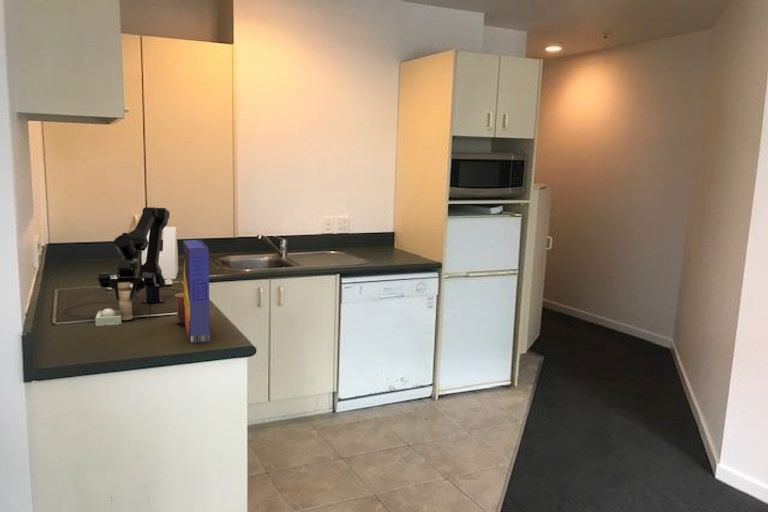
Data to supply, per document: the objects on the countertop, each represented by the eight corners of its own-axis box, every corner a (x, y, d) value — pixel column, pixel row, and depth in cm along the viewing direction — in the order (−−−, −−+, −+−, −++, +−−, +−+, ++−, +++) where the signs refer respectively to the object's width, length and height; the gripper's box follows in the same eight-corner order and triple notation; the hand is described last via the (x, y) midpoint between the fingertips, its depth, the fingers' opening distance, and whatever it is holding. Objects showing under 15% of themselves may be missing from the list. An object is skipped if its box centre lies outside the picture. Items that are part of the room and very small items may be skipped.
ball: (114, 305, 215) (119, 317, 216) (103, 308, 216) (108, 320, 217) (108, 309, 211) (113, 321, 212) (96, 312, 212) (101, 324, 212)
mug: (184, 327, 209) (183, 298, 207) (170, 323, 214) (169, 294, 213) (214, 321, 218) (214, 293, 216) (200, 317, 223) (199, 290, 222)
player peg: (119, 318, 217) (116, 282, 215) (131, 316, 219) (129, 281, 217) (121, 320, 213) (118, 284, 211) (133, 319, 215) (131, 282, 213)
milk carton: (146, 273, 316) (145, 225, 313) (178, 272, 320) (177, 225, 317) (142, 279, 298) (140, 228, 295) (175, 279, 302) (174, 228, 299)
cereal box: (184, 326, 210) (183, 240, 206) (202, 325, 212) (201, 239, 208) (189, 343, 190) (188, 247, 186) (209, 341, 192) (208, 247, 188)
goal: (98, 318, 218) (98, 310, 217) (123, 317, 220) (122, 309, 220) (95, 326, 208) (95, 317, 207) (121, 324, 210) (120, 316, 210)
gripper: (98, 250, 215) (90, 287, 205) (153, 250, 218) (148, 286, 209) (104, 268, 223) (97, 304, 214) (158, 268, 227) (153, 304, 218)
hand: (124, 299), depth 214 cm, fingers closed on player peg, 4 cm apart
